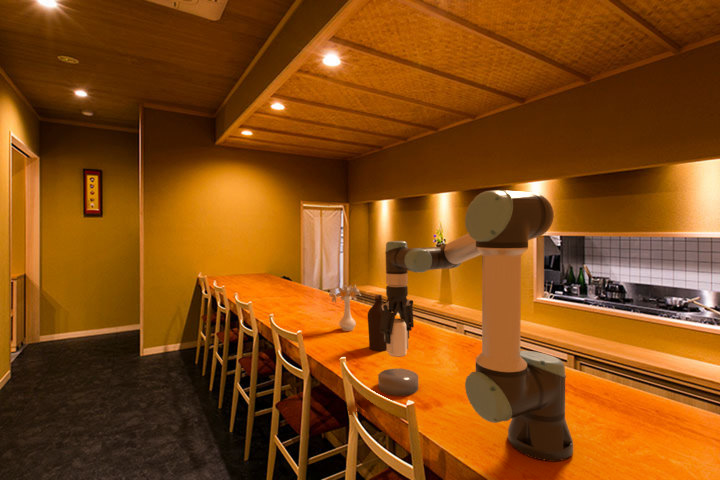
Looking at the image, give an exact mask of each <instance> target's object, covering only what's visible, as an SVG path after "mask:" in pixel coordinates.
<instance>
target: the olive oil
mask: <svg viewBox="0 0 720 480" xmlns="http://www.w3.org/2000/svg"><path fill="white" fill-rule="evenodd" d="M374 296H375V297H374V304H373V305H372V306H371V307H370V308H369V309H368V312H367V327H368V328H367V329H368V343H369V345H368V347H369V349H370V350H371V351H374V352H383V351H384V352H386V351H387V343H386V342H385V334H384V333H381V332H380V324H381V308H380V305H381V304H384V303H383V295H382V294H375V295H374Z"/></svg>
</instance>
